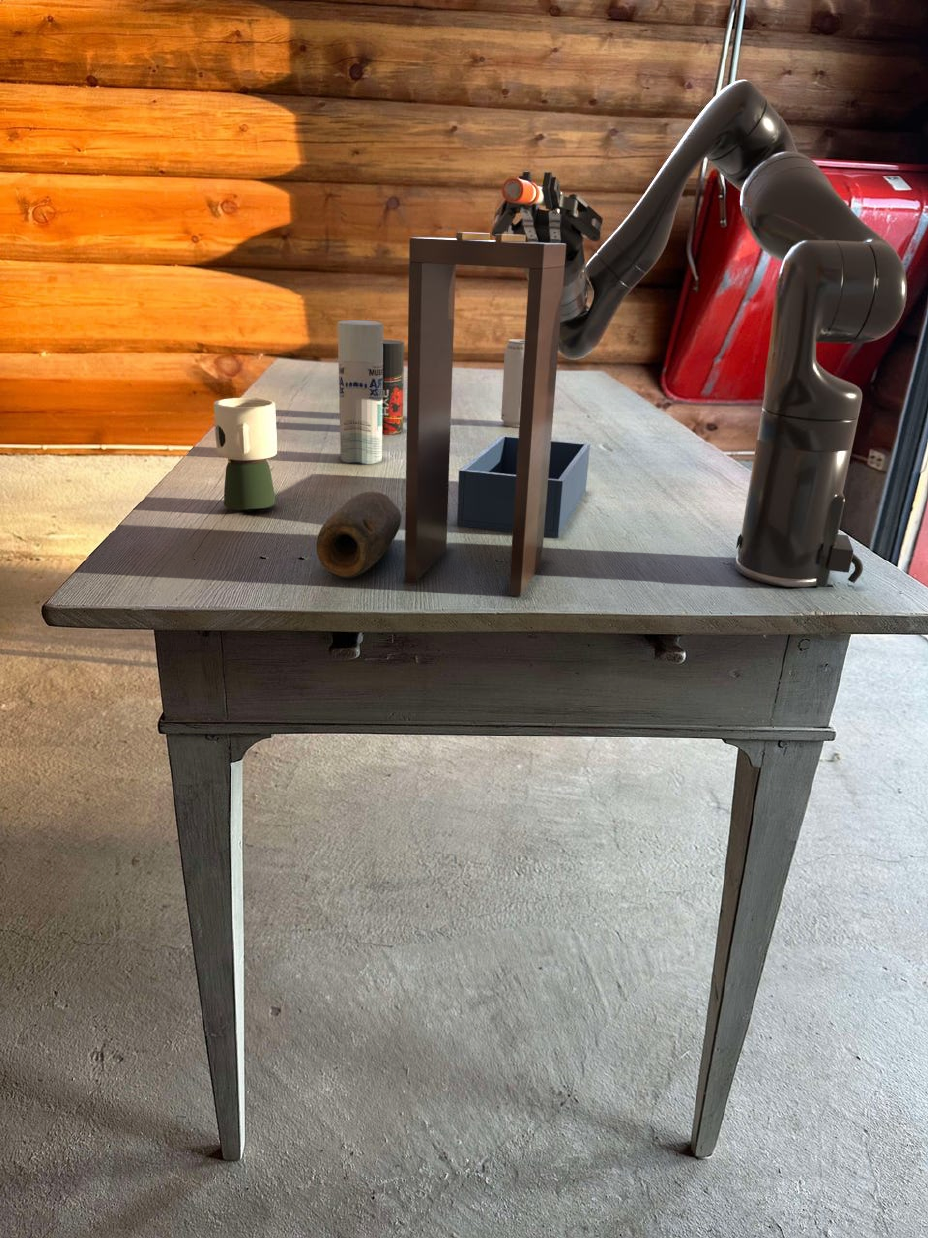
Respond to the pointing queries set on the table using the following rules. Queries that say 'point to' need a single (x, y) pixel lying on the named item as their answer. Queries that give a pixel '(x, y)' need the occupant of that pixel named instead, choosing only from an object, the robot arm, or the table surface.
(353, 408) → the spray paint can
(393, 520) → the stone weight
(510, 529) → the bin
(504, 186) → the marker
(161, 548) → the table surface
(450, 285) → the stand
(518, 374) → the energy drink can
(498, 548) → the table surface
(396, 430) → the deodorant
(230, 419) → the character mug
